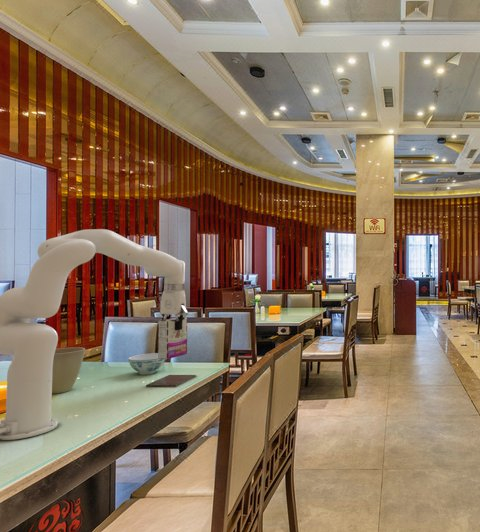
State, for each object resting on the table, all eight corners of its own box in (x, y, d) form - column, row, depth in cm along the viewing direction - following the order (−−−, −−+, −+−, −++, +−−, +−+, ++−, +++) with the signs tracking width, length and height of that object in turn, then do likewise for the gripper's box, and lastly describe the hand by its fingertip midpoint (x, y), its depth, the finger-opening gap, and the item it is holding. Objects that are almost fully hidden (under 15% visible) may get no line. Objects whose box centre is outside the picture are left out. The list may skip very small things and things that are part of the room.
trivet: (175, 386, 154) (175, 385, 154) (146, 386, 154) (146, 384, 154) (195, 376, 170) (195, 374, 170) (169, 376, 170) (169, 374, 170)
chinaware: (127, 378, 165) (128, 361, 165) (127, 371, 177) (128, 355, 177) (167, 373, 174) (167, 357, 174) (165, 367, 186) (165, 351, 186)
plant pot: (93, 387, 152) (94, 348, 152) (49, 398, 138) (51, 355, 138) (67, 384, 156) (68, 346, 157) (23, 394, 142) (24, 353, 143)
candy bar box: (177, 353, 168) (178, 317, 168) (187, 354, 167) (188, 317, 167) (156, 358, 157) (158, 319, 157) (167, 359, 156) (168, 320, 156)
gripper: (151, 287, 162) (150, 329, 161) (181, 288, 157) (180, 331, 156) (167, 287, 169) (166, 327, 168) (196, 288, 164) (195, 329, 163)
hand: (173, 329), depth 162 cm, fingers closed on candy bar box, 5 cm apart
